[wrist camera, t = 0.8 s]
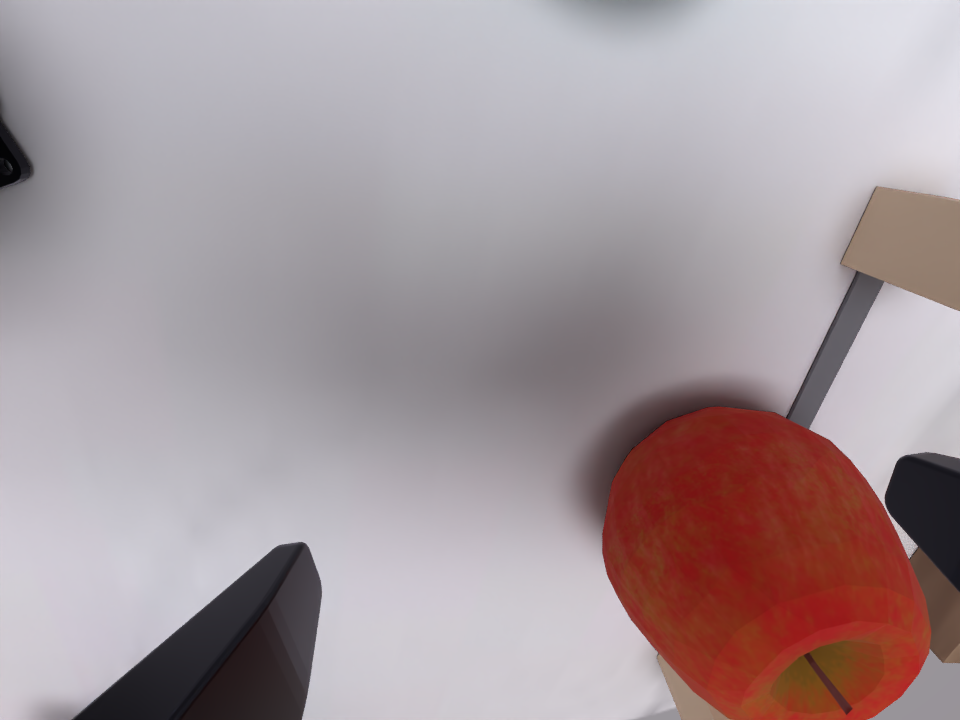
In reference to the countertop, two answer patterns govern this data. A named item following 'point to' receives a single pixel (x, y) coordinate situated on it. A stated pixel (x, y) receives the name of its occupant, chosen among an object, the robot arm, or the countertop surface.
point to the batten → (939, 608)
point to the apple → (764, 569)
